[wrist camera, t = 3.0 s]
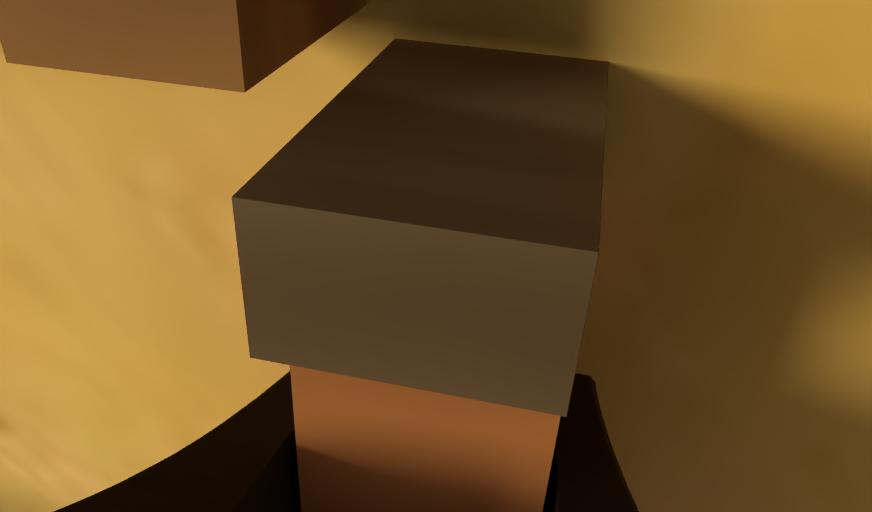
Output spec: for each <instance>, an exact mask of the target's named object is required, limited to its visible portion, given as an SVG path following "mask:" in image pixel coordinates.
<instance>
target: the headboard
mask: <svg viewBox="0 0 872 512" xmlns="http://www.w3.org/2000/svg"><path fill="white" fill-rule="evenodd" d="M365 5H366V0H0V40H1V43H2V47H3V51H4V54H5V58H6V62H7V63H15V64H23V65H31V66H39V67H47V68H55V69H62V70H70V71H78V72H86V73H94V74H102V75H110V76H118V77H126V78H134V79H142V80H150V81H158V82H166V83H174V84H182V85H190V86H197V87H205V88H213V89H221V90H229V91H237V92H246V91H247V90H249V89H250V88H252V87H253V86H254V85H256V84H257V83H259V82H260V81H261V80H263V79H264V78H265V77H267V76H268V75H270V74H271V73H272V72H274V71H275V70H277V69H278V68H279V67H281V66H282V65H283V64H285V63H286V62H288V61H289V60H290V59H292V58H293V57H295V56H296V55H297V54H299V53H300V52H301V51H303V50H304V49H306V48H307V47H308V46H310V45H311V44H313V43H314V42H315V41H317V40H318V39H319V38H321V37H322V36H324V35H325V34H326V33H328V32H329V31H331V30H332V29H333V28H335V27H336V26H337V25H339V24H340V23H342V22H343V21H344V20H346V19H347V18H349V17H350V16H351V15H353V14H354V13H355V12H357V11H358V10H360V9H361V8H362V7H364V6H365Z"/></svg>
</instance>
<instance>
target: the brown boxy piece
mask: <svg viewBox="0 0 872 512" xmlns="http://www.w3.org/2000/svg"><path fill="white" fill-rule="evenodd" d="M608 64H609V62H604V61H595V60H585V59H576V58H567V57H558V56H549V55H540V54H530V53H521V52H512V51H503V50H494V49H485V48H475V47H466V46H457V45H448V44H439V43H430V42H420V41H411V40H402V39H394V40H393V41H392V42H391V43H390V44H389V45H388V46H387V47H386V48H385V49H384V50H383V51H382V52H381V53H380V54H379V55H378V56H377V57H376V58H375V59H374V60H373V61H372V62H371V63H370V64H369V65H368V66H367V67H366V68H364V69H363V70H362V71H361V72H360V73H359V74H358V75H357V76H356V77H355V78H354V79H353V80H352V81H351V82H350V83H349V84H348V85H347V86H346V87H345V88H344V89H343V90H342V91H341V92H340V93H339V94H338V95H337V96H336V97H335V98H334V99H332V100H331V101H330V102H329V103H328V104H327V105H326V106H325V107H324V108H323V109H322V110H321V111H320V112H319V113H318V114H317V115H316V116H315V117H314V118H313V119H312V120H311V121H310V122H309V123H308V124H307V125H306V126H305V127H304V128H303V129H302V130H300V131H299V132H298V133H297V134H296V135H295V136H294V137H293V138H292V139H291V140H290V141H289V142H288V143H287V144H286V145H285V146H284V147H283V148H282V149H281V150H280V151H279V152H278V153H277V154H276V155H275V156H274V157H273V158H272V159H271V160H270V161H268V162H267V163H266V164H265V165H264V166H263V167H262V168H261V169H260V170H259V171H258V172H257V173H256V174H255V175H254V176H253V177H252V178H251V179H250V180H249V181H248V182H247V183H246V184H245V185H244V186H243V187H242V188H241V189H240V190H239V191H238V192H236V193H235V194H234V195H233V196H232V204H233V212H234V221H235V230H236V239H237V247H238V256H239V265H240V273H241V282H242V291H243V299H244V308H245V317H246V325H247V334H248V343H249V352H250V358H255V359H261V360H266V361H271V362H277V363H282V364H287V365H290V373H291V386H292V399H293V412H294V424H295V437H296V450H297V463H298V476H299V489H300V501H301V512H542V511H543V506H544V501H545V495H546V490H547V485H548V480H549V474H550V469H551V464H552V459H553V453H554V448H555V443H556V438H557V432H558V427H559V422H560V417H561V416H564V417H567V412H568V406H569V401H570V396H571V391H572V386H573V381H574V376H575V371H576V366H577V361H578V356H579V351H580V345H581V340H582V335H583V330H584V325H585V320H586V315H587V310H588V305H589V300H590V295H591V290H592V284H593V279H594V274H595V269H596V264H597V259H598V254H599V239H600V219H601V200H602V181H603V161H604V142H605V122H606V103H607V83H608Z"/></svg>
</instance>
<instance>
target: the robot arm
mask: <svg viewBox="0 0 872 512" xmlns="http://www.w3.org/2000/svg"><path fill="white" fill-rule="evenodd" d="M54 512H301V501H300V489H299V476H298V463H297V450H296V437H295V424H294V412H293V399H292V386H291V373H290V371H289V372H288V373H287V374H286V375H284V376H283V377H282V378H281V379H279V380H278V381H277V382H276V383H275V384H273V385H272V386H271V387H270V388H268V389H267V390H266V391H265V392H263V393H262V394H261V395H260V396H258V397H257V398H256V399H255V400H253V401H252V402H251V403H249V404H248V405H246V406H245V407H244V408H242V409H241V410H240V411H238V412H237V413H235V414H234V415H233V416H231V417H230V418H229V419H227V420H226V421H225V422H223V423H222V424H220V425H219V426H217V427H216V428H214V429H213V430H211V431H210V432H208V433H207V434H205V435H204V436H202V437H201V438H199V439H198V440H196V441H195V442H193V443H191V444H190V445H188V446H186V447H185V448H183V449H182V450H180V451H178V452H177V453H175V454H173V455H171V456H170V457H168V458H166V459H164V460H162V461H160V462H159V463H157V464H155V465H153V466H151V467H149V468H147V469H145V470H143V471H141V472H139V473H138V474H136V475H134V476H132V477H130V478H128V479H126V480H124V481H122V482H120V483H118V484H116V485H114V486H112V487H110V488H107V489H105V490H103V491H101V492H99V493H96V494H94V495H92V496H90V497H87V498H85V499H83V500H80V501H78V502H76V503H73V504H71V505H69V506H66V507H64V508H61V509H59V510H56V511H54ZM542 512H639V511H638V509H637V506H636V504H635V502H634V500H633V498H632V495H631V493H630V491H629V489H628V486H627V484H626V481H625V479H624V477H623V474H622V472H621V469H620V466H619V464H618V461H617V458H616V456H615V453H614V451H613V448H612V445H611V442H610V439H609V436H608V433H607V430H606V427H605V423H604V420H603V417H602V413H601V409H600V405H599V401H598V396H597V391H596V385H595V381H594V380H593V379H592V378H591V376H588V375H582V374H577V373H575V376H574V381H573V386H572V391H571V396H570V401H569V406H568V412H567V417H564V416H561V417H560V422H559V427H558V432H557V438H556V443H555V448H554V453H553V459H552V464H551V469H550V474H549V480H548V485H547V490H546V495H545V501H544V506H543V511H542Z"/></svg>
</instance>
